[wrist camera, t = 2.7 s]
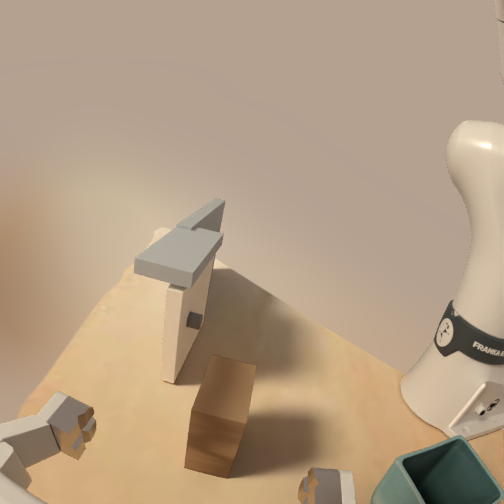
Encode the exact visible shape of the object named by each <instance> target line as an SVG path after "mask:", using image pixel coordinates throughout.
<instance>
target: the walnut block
mask: <svg viewBox="0 0 504 504" xmlns="http://www.w3.org/2000/svg"><path fill="white" fill-rule="evenodd" d="M256 367H257V365H252V364H248V363H244V362H239V361H235V360H231V359H227V358H223V357H219V356H216V355H212V357H211V360H210V362H209V365H208V368H207V370H206V373H205V376H204V378H203V381H202V383H201V386H200V389H199V391H198V394H197V397H196V399H195V402H194V405H193V407H192V410H191V417H190V425H189V433H188V441H187V449H186V457H185V465H184V468H187V469H190V470H194V471H197V472H201V473H205V474H209V475H213V476H217V477H222V478H226V479H227V478H228V475H229V472H230V470H231V467H232V464H233V461H234V458H235V455H236V453H237V450H238V447H239V444H240V441H241V438H242V435H243V432H244V429H245V426H246V423H247V418H248V412H249V407H250V401H251V395H252V390H253V384H254V379H255V373H256Z"/></svg>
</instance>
